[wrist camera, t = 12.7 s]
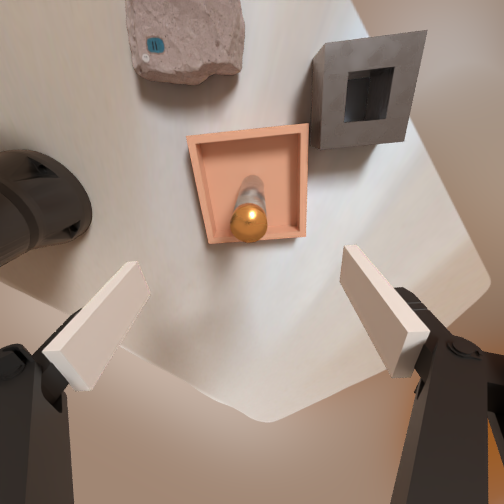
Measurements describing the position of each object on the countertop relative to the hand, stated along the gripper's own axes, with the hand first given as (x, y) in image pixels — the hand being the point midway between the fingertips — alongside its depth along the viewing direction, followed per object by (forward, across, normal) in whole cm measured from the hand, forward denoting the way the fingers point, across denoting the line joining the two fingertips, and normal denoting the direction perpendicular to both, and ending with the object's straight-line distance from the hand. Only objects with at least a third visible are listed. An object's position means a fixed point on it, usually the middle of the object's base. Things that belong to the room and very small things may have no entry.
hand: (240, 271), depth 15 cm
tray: (+24, 0, 0) cm, 25 cm away
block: (+24, +14, +10) cm, 30 cm away
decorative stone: (+25, -6, +18) cm, 32 cm away
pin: (+24, 0, 0) cm, 24 cm away
